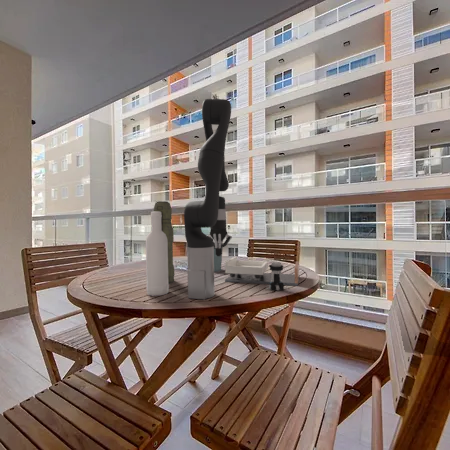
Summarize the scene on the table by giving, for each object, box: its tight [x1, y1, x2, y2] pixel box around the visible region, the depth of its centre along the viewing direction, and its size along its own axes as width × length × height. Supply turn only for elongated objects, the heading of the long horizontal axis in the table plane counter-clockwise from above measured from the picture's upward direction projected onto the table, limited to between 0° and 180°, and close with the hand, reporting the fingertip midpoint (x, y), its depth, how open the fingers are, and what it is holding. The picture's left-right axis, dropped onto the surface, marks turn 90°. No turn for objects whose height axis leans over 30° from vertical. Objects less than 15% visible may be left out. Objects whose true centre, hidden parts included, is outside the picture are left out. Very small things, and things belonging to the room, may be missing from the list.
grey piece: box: [224, 261, 300, 287], centre depth 114 cm, size 17×30×7 cm, turn 72°
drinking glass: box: [214, 247, 224, 273], centre depth 137 cm, size 10×10×12 cm
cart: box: [224, 256, 269, 279], centre depth 116 cm, size 16×16×7 cm
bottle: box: [145, 211, 170, 297], centre depth 94 cm, size 8×8×30 cm
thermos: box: [153, 200, 175, 284], centre depth 111 cm, size 9×12×35 cm
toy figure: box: [265, 261, 285, 291], centre depth 96 cm, size 7×5×10 cm
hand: (219, 256), depth 120 cm, fingers closed
